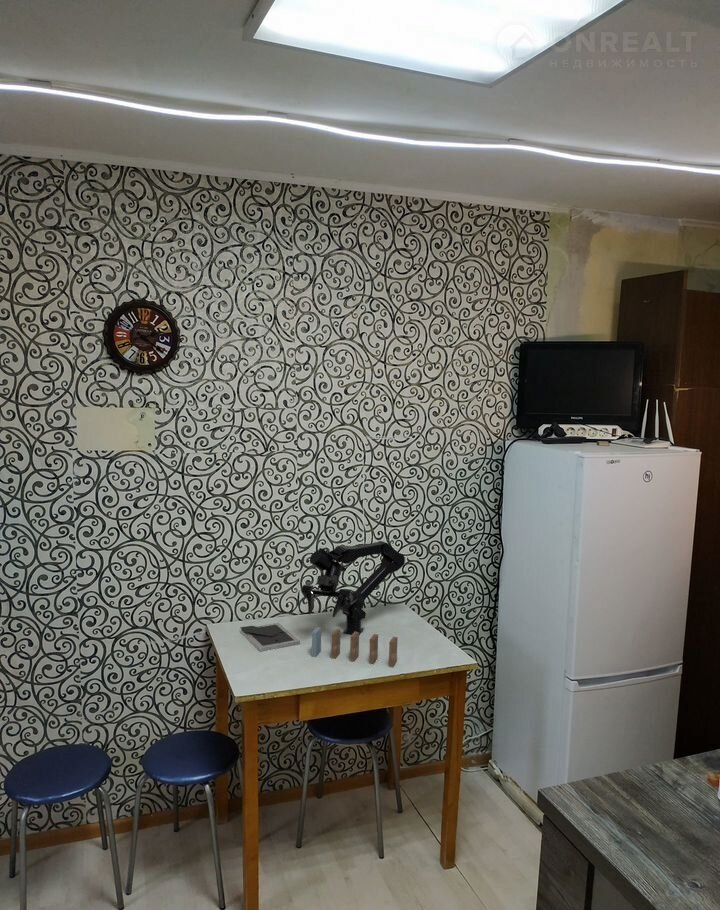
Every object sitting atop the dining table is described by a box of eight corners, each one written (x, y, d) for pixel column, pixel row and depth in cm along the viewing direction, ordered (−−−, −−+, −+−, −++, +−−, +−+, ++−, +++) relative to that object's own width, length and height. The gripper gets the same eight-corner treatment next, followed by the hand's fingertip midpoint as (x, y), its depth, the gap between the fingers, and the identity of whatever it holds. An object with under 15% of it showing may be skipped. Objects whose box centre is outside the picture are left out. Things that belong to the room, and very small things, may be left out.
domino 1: (311, 656, 250) (312, 632, 249) (316, 651, 254) (317, 627, 253) (316, 657, 249) (316, 632, 248) (320, 651, 254) (321, 627, 253)
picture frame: (240, 634, 271) (259, 653, 253) (240, 627, 270) (259, 646, 252) (278, 627, 278) (300, 646, 260) (278, 620, 278) (300, 638, 260)
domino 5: (388, 666, 242) (389, 641, 241) (392, 661, 247) (393, 636, 246) (393, 667, 242) (393, 642, 241) (396, 661, 247) (397, 637, 246)
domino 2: (331, 658, 248) (331, 633, 247) (335, 652, 253) (336, 628, 252) (335, 659, 248) (335, 634, 247) (340, 653, 253) (340, 629, 252)
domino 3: (350, 661, 246) (350, 636, 245) (354, 655, 251) (354, 631, 250) (354, 661, 246) (354, 637, 245) (358, 656, 251) (359, 632, 250)
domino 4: (369, 664, 244) (369, 639, 243) (373, 658, 249) (373, 633, 248) (373, 664, 244) (374, 639, 243) (377, 659, 249) (378, 634, 248)
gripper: (302, 563, 260) (291, 601, 251) (351, 568, 255) (341, 607, 245) (310, 578, 268) (299, 615, 259) (357, 583, 263) (347, 621, 254)
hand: (321, 615), depth 254 cm, fingers open, 9 cm apart
